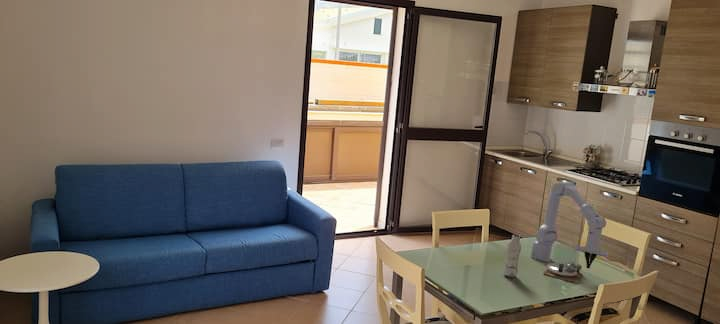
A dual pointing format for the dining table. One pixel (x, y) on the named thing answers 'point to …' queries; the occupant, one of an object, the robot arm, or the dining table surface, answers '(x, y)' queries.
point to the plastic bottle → (512, 257)
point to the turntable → (560, 270)
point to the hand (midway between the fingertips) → (588, 267)
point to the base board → (570, 279)
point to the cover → (571, 267)
